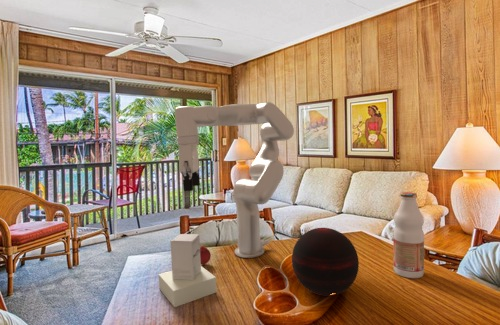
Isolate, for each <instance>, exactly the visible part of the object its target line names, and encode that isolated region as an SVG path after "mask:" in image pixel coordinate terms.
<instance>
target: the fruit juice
mask: <svg viewBox="0 0 500 325" xmlns="http://www.w3.org/2000/svg"><path fill="white" fill-rule="evenodd" d="M400 198H401V200H400V203H399V206H398V208H397V210H396V211H395V212H394V215H393V222H394V226H395V227H394V229H393V235H392V236H393V237H392V238H393V240H392V241H393V242H392V246H393V247H392V250H393V251H392V252H393V254H392V255H393V256H392V258H393V264H392V265H393V267H392V268H393V272H394V273H395V274H396V275H398V276H400V277H404V278H407V279H419V278H422V277H423V276H424V274H425V232H424V230H423V227H424V226H423V225H424V222H425V219H424V215H423V213H422V212H421V210H420V208H419V206H418V203H417V198H418V194H417V193H416V192H413V191H412V192H411V191H402V192H400Z"/></svg>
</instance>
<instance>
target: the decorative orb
mask: <svg viewBox="0 0 500 325" xmlns="http://www.w3.org/2000/svg"><path fill="white" fill-rule="evenodd" d="M294 244H295V245H294V246H293V250H292V252H291V253H292V254H291V265H292V270H293V272H294V275H295V277H296V279H297V280H298V281H299V283H300V284H301V285H302V286H303V287H304V288H305V289H307V290H308V291H309V292H311V293H314V294H316V295H319V296H325V297H329V295H330V294H332V293H336V294H337V295H339V294H342V293H344V292H345V291H347V290H348V289H349V288H350V287H351V286H352V285H353V283H354V282H355V280H356V278H357V277H358V274H359V265H360V264H359V256H358V253H357V250H356V248H355V246H354V244H353V243H352V241H350V239H349V238H348V237H347V236H346V235H345V234H343V233H342V232H341V231H338V230H336V229H334V228H330V227H317V228H313V229H310V230H308V231H306V232H305V233H303V234H302V235H301V236H300V237H299V239H297V240H296V242H295V243H294Z"/></svg>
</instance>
